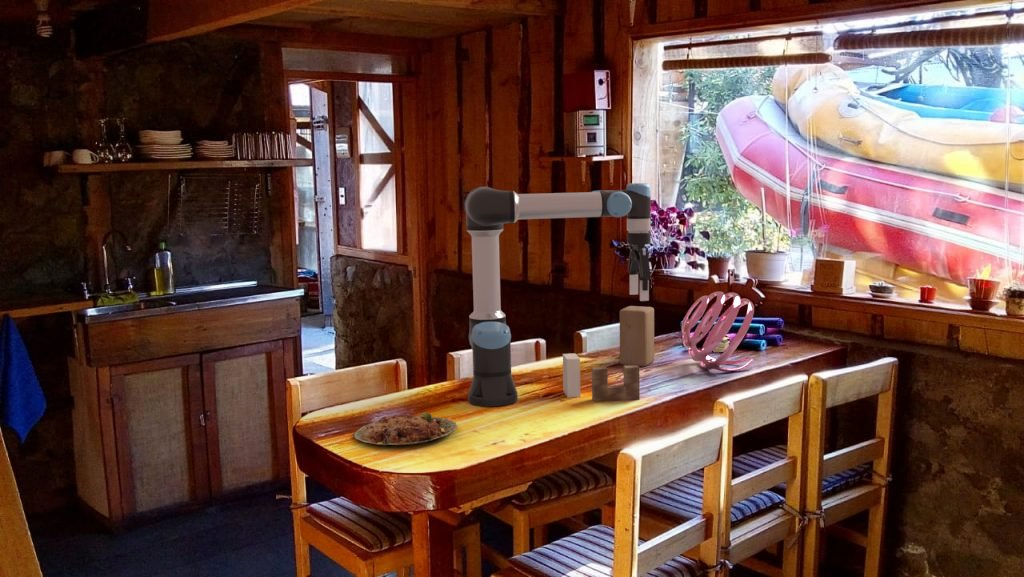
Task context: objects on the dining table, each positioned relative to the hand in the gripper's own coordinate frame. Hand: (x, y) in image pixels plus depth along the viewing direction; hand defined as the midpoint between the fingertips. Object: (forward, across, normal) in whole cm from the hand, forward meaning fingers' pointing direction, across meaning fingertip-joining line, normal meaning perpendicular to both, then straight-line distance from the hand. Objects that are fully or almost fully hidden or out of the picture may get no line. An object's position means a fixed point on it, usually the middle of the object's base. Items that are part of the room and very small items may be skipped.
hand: (639, 297), depth 284 cm
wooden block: (+28, +26, -6) cm, 39 cm away
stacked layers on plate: (+28, +40, -41) cm, 64 cm away
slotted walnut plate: (+28, -19, +12) cm, 36 cm away
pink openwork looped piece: (+28, +14, -31) cm, 44 cm away
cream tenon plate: (+28, -10, +24) cm, 38 cm away
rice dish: (+29, -43, +75) cm, 91 cm away
